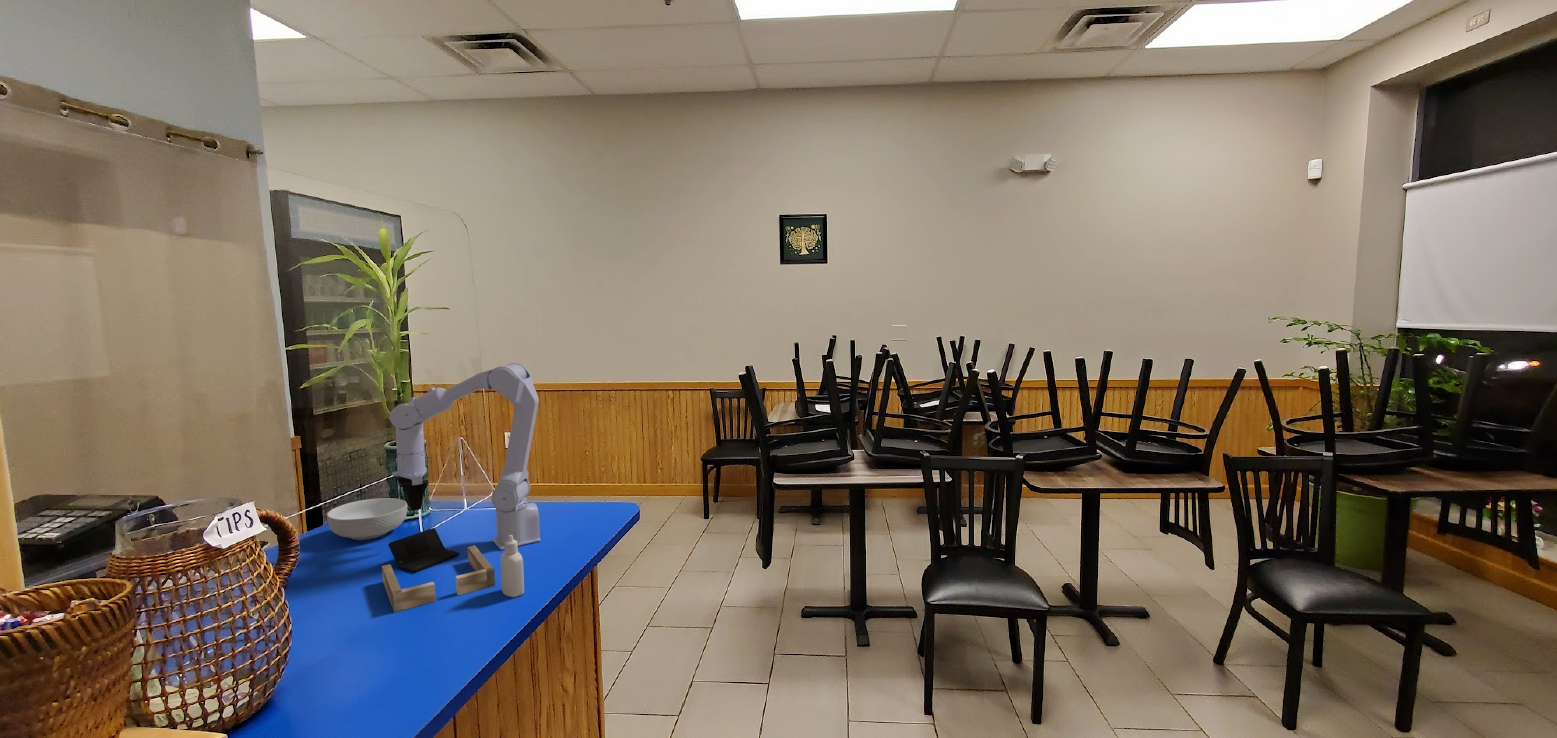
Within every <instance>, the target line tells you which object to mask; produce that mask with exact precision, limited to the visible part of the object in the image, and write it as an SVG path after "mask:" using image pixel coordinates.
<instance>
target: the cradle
mask: <svg viewBox="0 0 1557 738" xmlns="http://www.w3.org/2000/svg"><path fill="white" fill-rule="evenodd" d="M467 562H468V563H469V565H470V566H471V567H472V569H473V570H474V571H471V572H467V573H464V574H459V575H456V576H455V589H456V591H455V592H456V595H457V596H460V595H465V594H468V593H473V592H476V591H479V590H485V589H488V588H491V587H494V586H496V578H495V577H496V575H495V568H494V567H493V565H492V564H490V562H489V561H488V560H487V559H486V558H485V556H484V555H483V553H482V552H481V551H480V550H479V548H478V547H476V545H475V544H474V545H471V546H467ZM381 572H382V573H381V575H382V584H383V586H384V588H385V591H386V594H387V596H388V599H389V602H390V604H391V607H392V610H393V612H394V613H397V612H402V611H404V610H409V609H412V608H417V607H419V605H420V606H423V605H427V604H431V603H435V602H437V601H436V597H437V596H436V584H435V582H434V581H431V582H427V583H423V584H420V585H415V586H410V587H407V588H401V587H400V584H399V582H398V578H397V577H396V574H395V572H394V569H393V567H392V565H391V564H385V565H382V566H381Z"/></svg>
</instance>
